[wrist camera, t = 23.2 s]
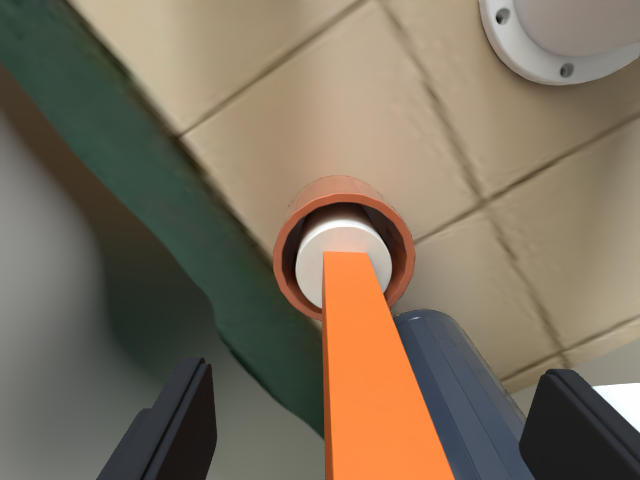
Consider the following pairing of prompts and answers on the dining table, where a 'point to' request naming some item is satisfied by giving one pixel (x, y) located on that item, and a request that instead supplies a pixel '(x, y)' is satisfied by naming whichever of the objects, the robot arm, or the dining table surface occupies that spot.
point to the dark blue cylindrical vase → (463, 399)
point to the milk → (623, 400)
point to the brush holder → (381, 217)
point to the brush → (364, 355)
